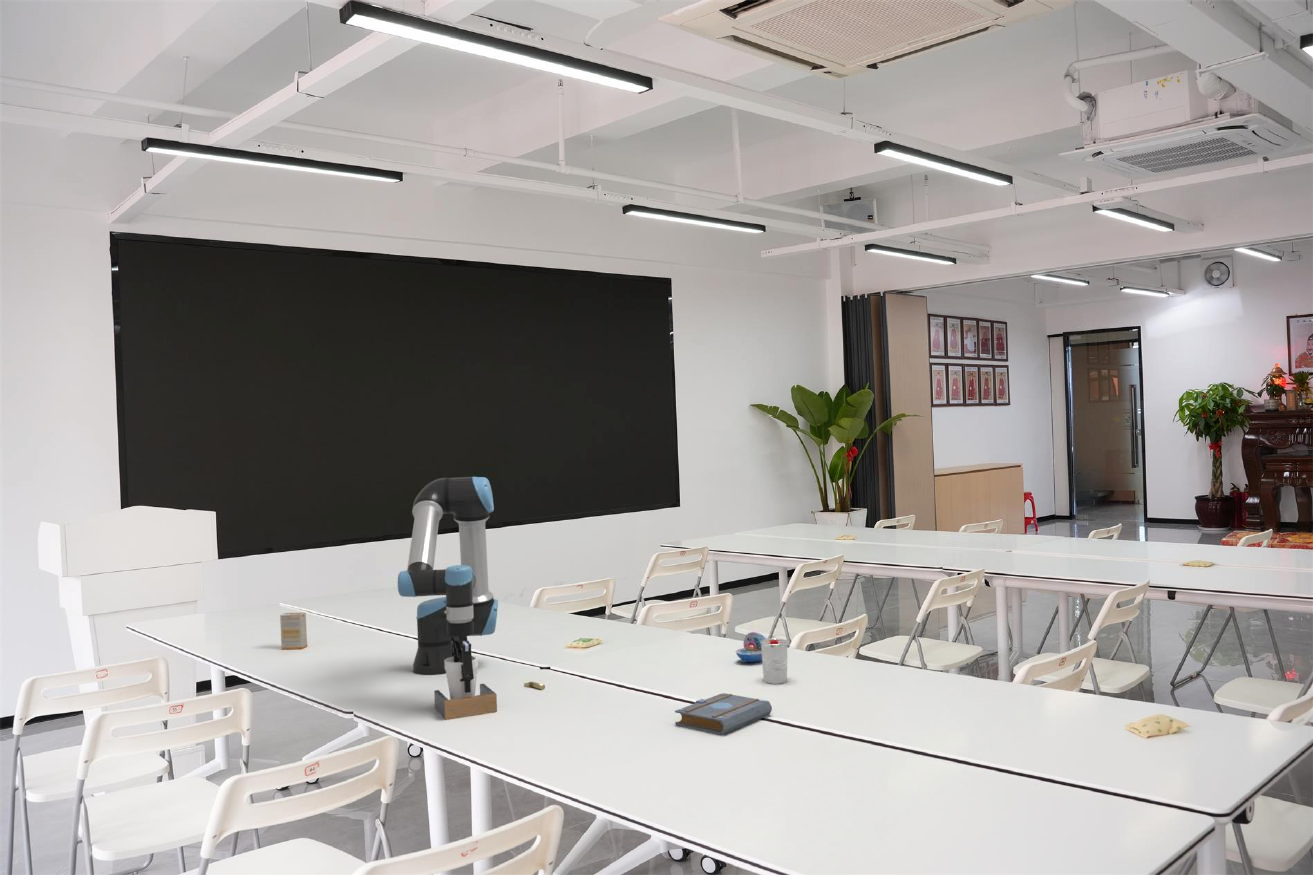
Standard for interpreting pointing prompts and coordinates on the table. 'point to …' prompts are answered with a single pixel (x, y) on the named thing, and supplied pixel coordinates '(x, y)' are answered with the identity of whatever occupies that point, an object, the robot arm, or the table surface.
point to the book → (723, 713)
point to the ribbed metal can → (774, 660)
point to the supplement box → (293, 630)
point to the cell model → (751, 648)
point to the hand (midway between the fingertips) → (462, 699)
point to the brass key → (534, 685)
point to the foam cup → (458, 676)
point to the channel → (466, 704)
